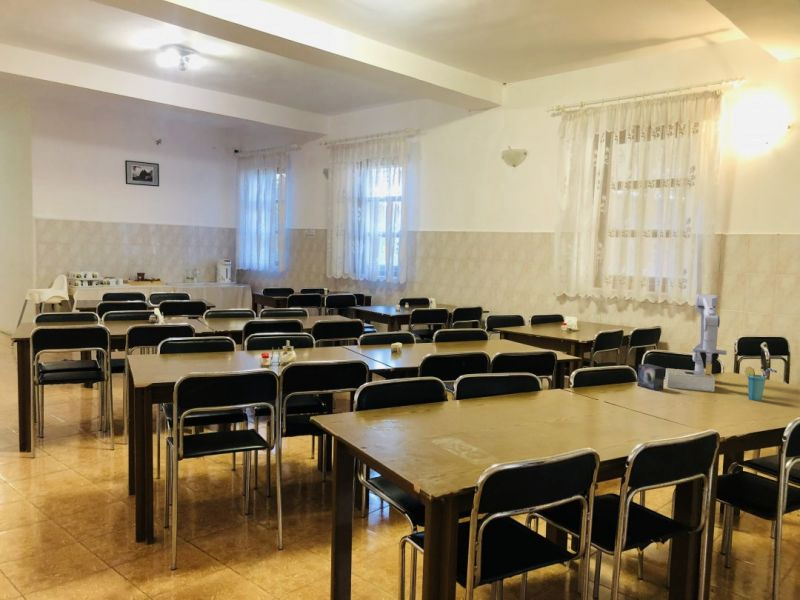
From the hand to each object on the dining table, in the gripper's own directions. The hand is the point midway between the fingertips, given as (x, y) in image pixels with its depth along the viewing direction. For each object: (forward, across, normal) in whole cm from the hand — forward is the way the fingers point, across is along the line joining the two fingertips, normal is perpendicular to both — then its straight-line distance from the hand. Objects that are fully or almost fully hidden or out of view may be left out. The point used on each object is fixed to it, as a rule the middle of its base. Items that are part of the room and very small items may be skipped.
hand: (708, 368), depth 296 cm
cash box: (+9, -8, -1) cm, 12 cm away
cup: (+10, +18, -18) cm, 27 cm away
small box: (+10, -26, -13) cm, 31 cm away
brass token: (+2, 0, +1) cm, 3 cm away
